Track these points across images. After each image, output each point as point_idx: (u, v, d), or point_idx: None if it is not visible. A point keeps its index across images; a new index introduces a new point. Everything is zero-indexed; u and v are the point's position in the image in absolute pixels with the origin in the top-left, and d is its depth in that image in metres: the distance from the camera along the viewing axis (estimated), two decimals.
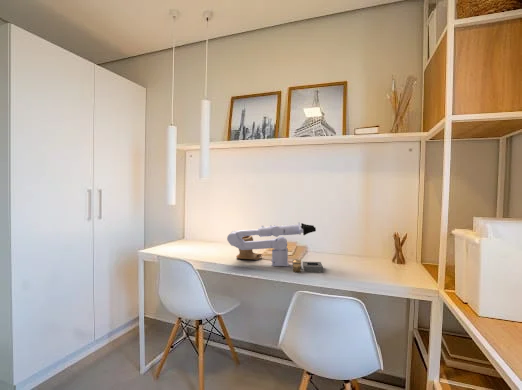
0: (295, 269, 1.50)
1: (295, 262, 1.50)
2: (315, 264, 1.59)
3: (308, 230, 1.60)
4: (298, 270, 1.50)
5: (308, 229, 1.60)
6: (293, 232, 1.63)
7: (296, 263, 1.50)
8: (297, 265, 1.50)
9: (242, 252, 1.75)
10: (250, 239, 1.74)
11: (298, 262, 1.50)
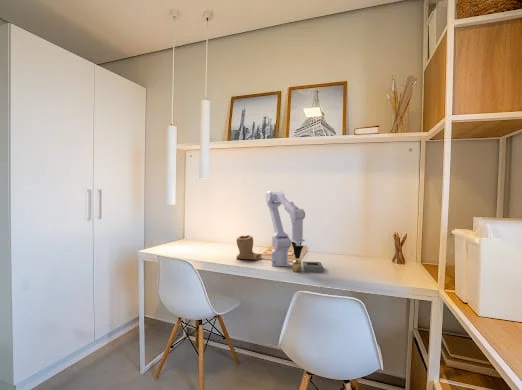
0: (295, 269, 1.50)
1: (295, 262, 1.50)
2: (315, 264, 1.59)
3: (296, 250, 1.48)
4: (298, 270, 1.50)
5: (298, 250, 1.48)
6: (295, 234, 1.50)
7: (296, 263, 1.50)
8: (297, 265, 1.50)
9: (242, 252, 1.75)
10: (250, 239, 1.74)
11: (298, 262, 1.50)
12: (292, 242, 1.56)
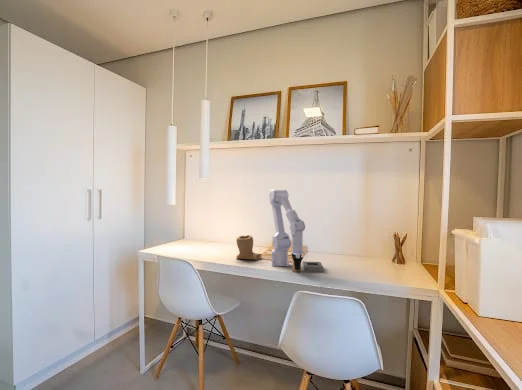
0: None
1: None
2: (315, 264, 1.59)
3: (296, 262, 1.49)
4: (298, 270, 1.50)
5: (297, 262, 1.49)
6: (295, 246, 1.50)
7: None
8: None
9: (242, 252, 1.75)
10: (250, 239, 1.74)
11: None
12: (292, 254, 1.55)
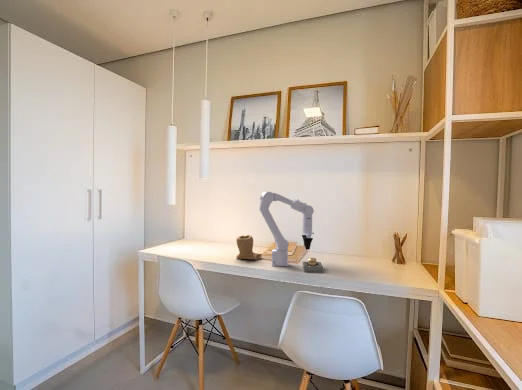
0: None
1: (311, 260, 1.54)
2: None
3: (307, 242, 1.63)
4: None
5: (308, 242, 1.63)
6: (305, 227, 1.65)
7: (312, 261, 1.54)
8: (313, 263, 1.54)
9: (242, 252, 1.75)
10: (250, 239, 1.74)
11: (314, 260, 1.54)
12: (302, 235, 1.72)
